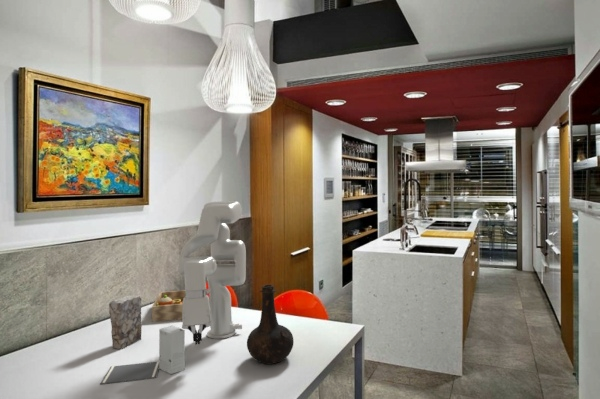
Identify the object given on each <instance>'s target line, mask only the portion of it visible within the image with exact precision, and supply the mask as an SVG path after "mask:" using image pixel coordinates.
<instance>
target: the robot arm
mask: <svg viewBox="0 0 600 399" xmlns="http://www.w3.org/2000/svg"><path fill="white" fill-rule="evenodd" d="M242 214H243V208H242V205H241V203H240V202H239V201H235V200H233V201H231V200H229V201H211V202H207V203H205V204H204V205H203V208H202V209H201V213H200V218H199V223H198V228H197V232H196V234H195V235H193V236H192V237H191V238H189V239H188V240H187V241H186V243H185V244H184V245H183V246H182V247H181V252H180V255H179V259H178V266H177V270H178V272H179V274H180V276H182V277H184V290H185V297H184V299H183V307H182V319H181V321H182V322H181V323H182V324H181V329H183V330H189V332H190V333H192V340H193V341H192V342H195V345H201V342H202V341H203V337H202V333H203V331H204V330H206V328H208V327H210V329H209V330H208V331H207V334H206V336H207V337H208V338H210V339H215V340H216V339H218V340H221V339H226V338H230V337H232V336H234V335H236V330H242V329H243V325H242V324H240V323H236V324H235V323H233V321H232V319H233V318H232V297H231V296H232V295H231V292H230V291H229V289H228V288H227V286H228V287H229V286H242V285H244V283H245V281H246V278H247V276H246V275H247V274H246V273H247V269H246V268H247V251H246V250H247V248H246V245H245V242H244V241H242V240H239V239H232V240H231V236H230V234H231V231H230V230H231V229H230V228H229V226H228V224H234V223H236V222H237V221H238V220H240V218H241V217H242ZM208 245H210V255H209V256H208V255H206V256H204V255H203V256H202V255H201V256H192V255H193V254H194V253H195V252H196V251H198V250H199V249H203V248H204V247H206V246H208ZM217 262H234V263H229V264H228V263H226V264H225V263H223V264H221V263H220V264H217ZM207 286H208V288H207ZM196 326H198V330H197V329H196Z"/></svg>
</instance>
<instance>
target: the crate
mask: <svg viewBox="0 0 600 399" xmlns="http://www.w3.org/2000/svg"><path fill="white" fill-rule="evenodd" d="M165 295H167V297H169V298H171V299H172V300H179V299H181V302H183V299H184V297H185V289H184V290H174V291H171V290H170V291H161V292H159V294H158V295H157V297H156V299H155V301H154V303H153V304H152V306H151V313H152V314H151V316H152V318H151V319H152V322H154V323H155V322H164V321H176V320H182V307H183V304H173V305H161V306H156V304H157V303H158V301H159V300H160V299H162V298H163V297H164V296H165ZM175 319H176V320H175Z"/></svg>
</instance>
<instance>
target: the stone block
mask: <svg viewBox="0 0 600 399" xmlns="http://www.w3.org/2000/svg"><path fill="white" fill-rule="evenodd" d="M108 305H109V306H108V310H109V311H108V312H109V318H110V325H111V341H112V345H111V346H112V348H113V349H117V350H123V348H124V349H126V348H127V346H128V347H129V346H131V345H133V344H135V343H137V342H139V341H140V340H142V324H143V323H142V297H141V296H139V295H134V294H130V295H125V296H122V297H119V298H116V299H112V301H110V302H109V304H108ZM125 347H126V348H125Z"/></svg>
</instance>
